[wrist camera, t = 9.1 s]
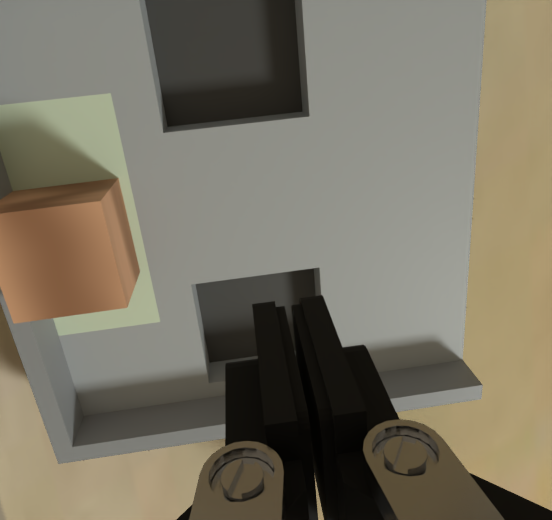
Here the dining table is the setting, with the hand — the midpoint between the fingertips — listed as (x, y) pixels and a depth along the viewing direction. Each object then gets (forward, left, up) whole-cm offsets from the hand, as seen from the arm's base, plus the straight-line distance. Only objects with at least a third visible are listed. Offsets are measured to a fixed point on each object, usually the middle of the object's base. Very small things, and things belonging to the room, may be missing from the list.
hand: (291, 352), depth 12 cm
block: (+9, +1, -14) cm, 17 cm away
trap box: (0, +1, -17) cm, 17 cm away
